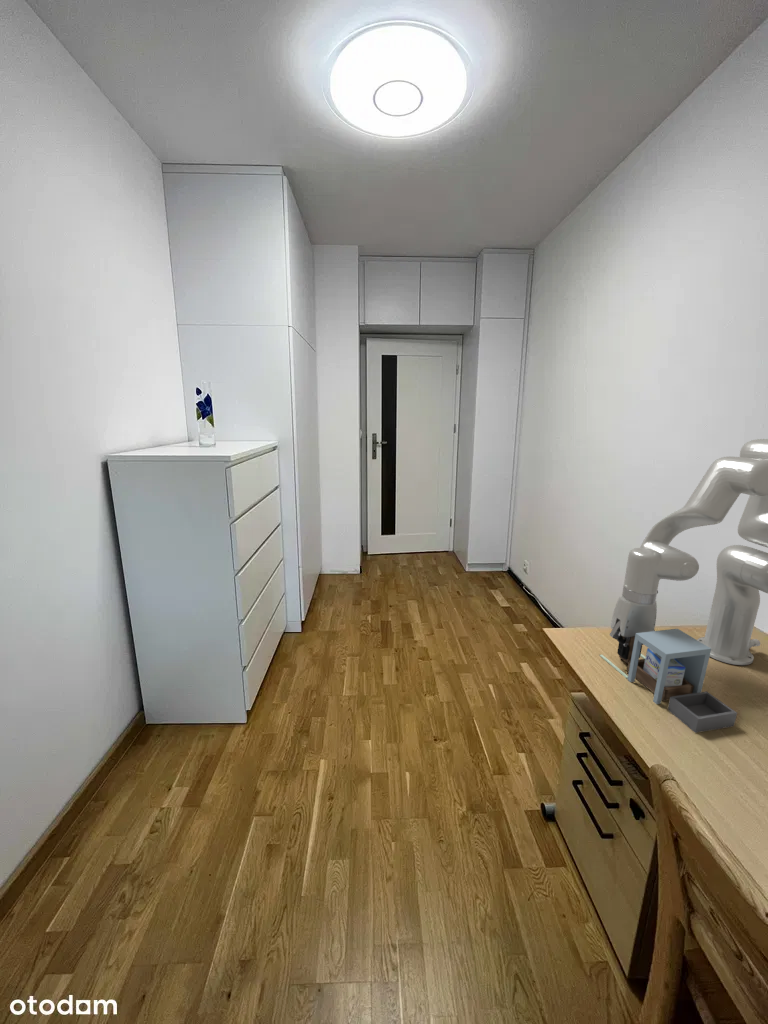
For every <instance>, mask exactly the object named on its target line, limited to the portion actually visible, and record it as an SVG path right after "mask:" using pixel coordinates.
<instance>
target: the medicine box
mask: <svg viewBox="0 0 768 1024" xmlns="http://www.w3.org/2000/svg"><path fill="white" fill-rule="evenodd" d="M645 653H646V654H645V662H644V667H643V670H644V671H645V672H646V673H648V674H649V675H650V676H651V677H653V678H654V679H655V680H657V678H658V673H659V668H660V663H661V658H662V657H661V656H659V655H658V654H657V653H655V652H654V651H652V650H651V649H649V648H648V647H647V649H646V652H645ZM684 672H685V666H684V665H683V664H681V663H680V662H679V661H678V660H677V659H676V658H674V659H670V660H669V665H668V670H667V675H666V680H665V685H664V687H673V686H680V685H682V681H683V677H684Z"/></svg>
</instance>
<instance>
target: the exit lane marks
mask: <svg viewBox="0 0 768 1024" xmlns="http://www.w3.org/2000/svg"><path fill="white" fill-rule="evenodd" d="M599 656H600V658H601V659H603V660H604V661H605V662H606V663H607V664H609V666H611V667H612V668H613V669H614V670H616V671H617V672H618V673H619V674H621V675H622V676H623V677H624V678H625V679H628V674H626V673H625V672H624V671H622V669H621V668H619V667H618V666H617V665H615V664H614V663H613V662H612V661H611V660H609V659H608V658H607V657H606V656H604V654H599ZM645 657H646V655H644V654H643V653H641V655H640V658H641V659H645Z"/></svg>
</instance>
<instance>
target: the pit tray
mask: <svg viewBox="0 0 768 1024" xmlns="http://www.w3.org/2000/svg"><path fill="white" fill-rule="evenodd" d="M667 710H668V712H669V713H671V714H672V715H673V716H675V718H677V719H678V720H679V721H681V722H682V723H683V725H686V726H687V728H689V729H690V730H691V731H692V732H694V733H695V734H696V733H702V732H708V731H713V730H719V729H725V728H732V727H734V726H735V724H736V720H737V715H738V712H737V711H735V710H734V709H732V708H731V707H729V706H728V705H727V704H726V703H724V702H723V701H721V700H720V699H719V698H718V697H716V696H714V695H713V694H711V693H710V692H709V691H708V690H707V691H701V692H699V693H692V694H685V695H679V696H672V697H670V700H668V706H667Z"/></svg>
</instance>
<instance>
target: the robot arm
mask: <svg viewBox="0 0 768 1024" xmlns="http://www.w3.org/2000/svg"><path fill="white" fill-rule="evenodd" d="M739 451H740V452H739V456H723V457H719V458H717V459H716V460H714V461H713V462H712V463H711V465H710V466H709V467H708V469H707V470H706V472H705V473H704V475H703V476H702V478H701V480H700V481H699V483H698V484H697V486H696V487H695V489H694V491H693V492H692V494H691V495H690V497H689V498H688V500H687V501H686V503H685V505H683V507H681V508H680V509H678V510H675V511H674V512H671V513H670V514H668V515H667V516H665V517H663V518H662V519H661V520H659V521H658V522H657V523H655V524H654V525H653V526H652V527H651V529H650V530H649V532H648V533H647V534H646V537H645V538H644V539H643V542H642V543H641V544H640V547H635V548H632V549H631V550H630V551H629V552H628V557H627V563H626V569H625V576H624V582H623V586H622V587H623V588H622V593H621V596H619V597H618V599H617V601H616V604H615V606H614V610H613V613H612V619H611V623H610V628H611V631H610V632H609V636H610V637H611V638H612V639H614V640H616V641H617V642H618V647H617V655H618V656H619V655H620V656H621V657H622V658H624V659H625V660H627V659H628V655H629V650H630V647H629V646H628V645H629V641H630V637H631V636H635V634H636V633H642V632H651V631H656V629H655V628H656V622H657V612H658V611H657V608H658V607H657V606H658V605H657V595H658V593H659V590H658V589H659V584H660V580H668V581H676V582H681V581H682V582H683V581H688V580H690V579H692V578H694V577H695V576H696V575H697V574H698V572H699V569H700V564H699V562H698V560H697V559H696V558H695V557H694V556H693V555H692V554H690V553H688V552H685V551H683V550H680V549H678V548H677V547H676V548H675V547H673V546H671V545H670V543H671V542H672V541H673V539H674V538H675V537H676V536H678V535H679V534H681V533H683V532H684V531H686V530H689V529H694V528H699V527H700V528H701V527H705V526H713V525H717V524H720V523H722V522H723V521H724V520H725V518H726V516H727V515H728V513H729V512H730V510H731V509H732V507H733V505H735V503H736V501H737V500H738V498H739V497H740V495H741V494H745V495H749V497H748V500H747V502H746V504H745V507H744V509H743V512H742V514H741V518H740V519H739V522H738V526H737V534H738V536H739V537H740V538H741V539H743V540H744V541H747V542H748V543H749V542H750V543H752V544H755V545H759V546H761V547H764V548H768V438H760V439H758V438H757V439H753V440H752V439H751V440H749V441H746V442H745V443H744V444H743V445H742V447H741V449H740V450H739ZM760 592H763V593H765V594H768V552H766V551H763V550H760V549H757V548H754V547H751V546H748V545H741V544H734V545H733V544H732V545H729V546H727V547H725V548H723V549H722V550H721V551H720V552H719V553H718V556H717V559H716V585H715V588H714V593H713V599H712V602H711V603H712V604H711V606H710V607H711V608H710V612H709V616H708V621H707V625H706V630H705V633H704V636H703V637H699V638H698V639H697V640H698V641H699V642H701V643H703V644H704V645H706V646H708V647H709V648H711V652H710V656H709V658H712V659H713V660H716V661H719V662H723V663H724V664H725V663H726V664H728V665H729V664H730V665H735V666H748V665H751V664H752V663H753V662H754V658H755V657H754V655H753V653H752V652H751V651H750V649H751V648H752V647H760V645H761V641H760V639H757V638H752V635H753V630H754V628H755V623H756V619H757V615H758V611H759V607H760V604H761V593H760ZM623 637H625V639H623ZM643 645H644V644H642V643H641V649H640V654H639V659H640V658H641V656H640V655H641V654H642V648H643ZM644 646H645V645H644Z"/></svg>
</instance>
